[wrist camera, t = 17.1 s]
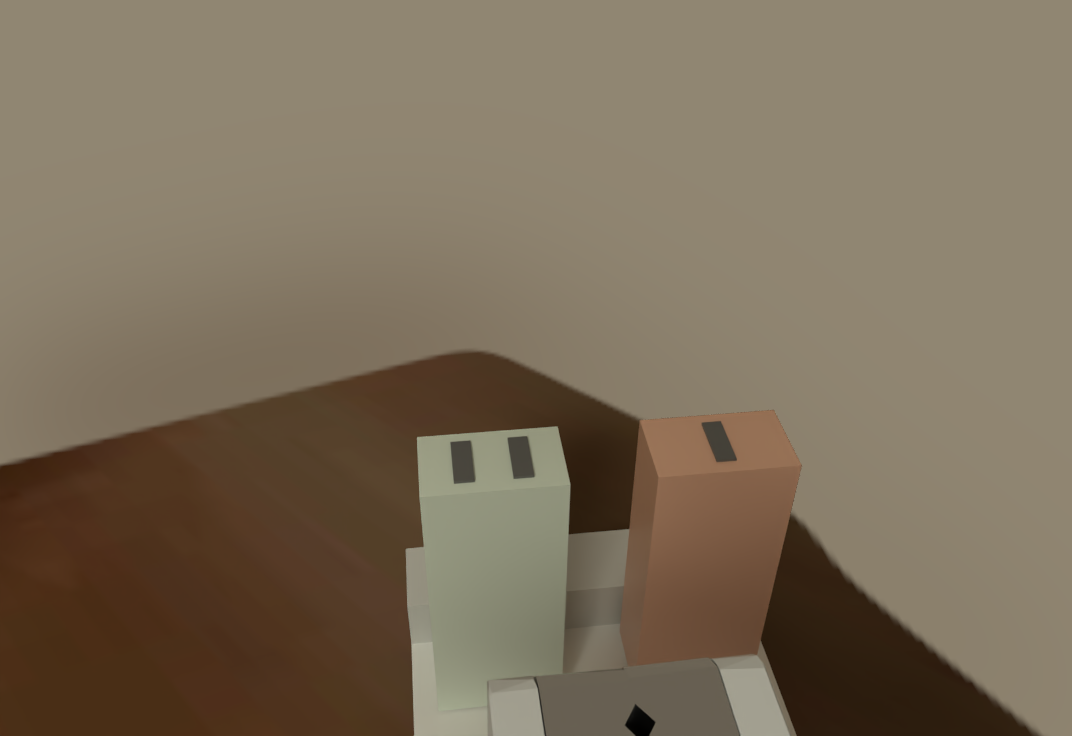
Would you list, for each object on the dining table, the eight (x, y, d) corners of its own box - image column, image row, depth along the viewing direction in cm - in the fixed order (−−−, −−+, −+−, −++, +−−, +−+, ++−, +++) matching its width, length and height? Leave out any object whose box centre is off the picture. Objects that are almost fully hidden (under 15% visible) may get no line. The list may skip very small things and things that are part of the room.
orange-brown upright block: (633, 690, 40) (659, 475, 33) (618, 627, 42) (638, 414, 35) (751, 677, 40) (802, 463, 33) (729, 616, 43) (772, 404, 36)
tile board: (419, 809, 38) (411, 744, 35) (412, 606, 46) (405, 540, 43) (789, 765, 40) (808, 700, 37) (720, 576, 47) (733, 511, 45)
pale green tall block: (438, 711, 39) (419, 495, 32) (435, 645, 42) (416, 431, 34) (561, 698, 40) (570, 482, 32) (550, 634, 42) (556, 420, 35)
